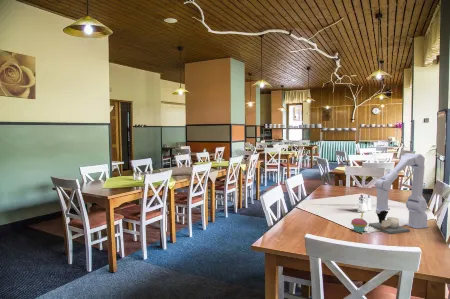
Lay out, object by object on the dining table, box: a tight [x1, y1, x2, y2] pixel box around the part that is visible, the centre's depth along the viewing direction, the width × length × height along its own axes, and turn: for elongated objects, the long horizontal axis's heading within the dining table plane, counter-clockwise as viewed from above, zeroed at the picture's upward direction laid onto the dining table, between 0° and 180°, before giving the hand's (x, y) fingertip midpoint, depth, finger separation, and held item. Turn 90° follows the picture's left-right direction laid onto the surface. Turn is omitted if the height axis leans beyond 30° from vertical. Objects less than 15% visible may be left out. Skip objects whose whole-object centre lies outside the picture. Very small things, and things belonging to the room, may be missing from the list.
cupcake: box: [350, 211, 369, 233], centre depth 180 cm, size 9×8×12 cm
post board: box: [368, 221, 411, 235], centre depth 184 cm, size 14×16×2 cm
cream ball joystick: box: [382, 216, 400, 227], centre depth 181 cm, size 12×6×4 cm, turn 117°
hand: (381, 223), depth 182 cm, fingers closed
